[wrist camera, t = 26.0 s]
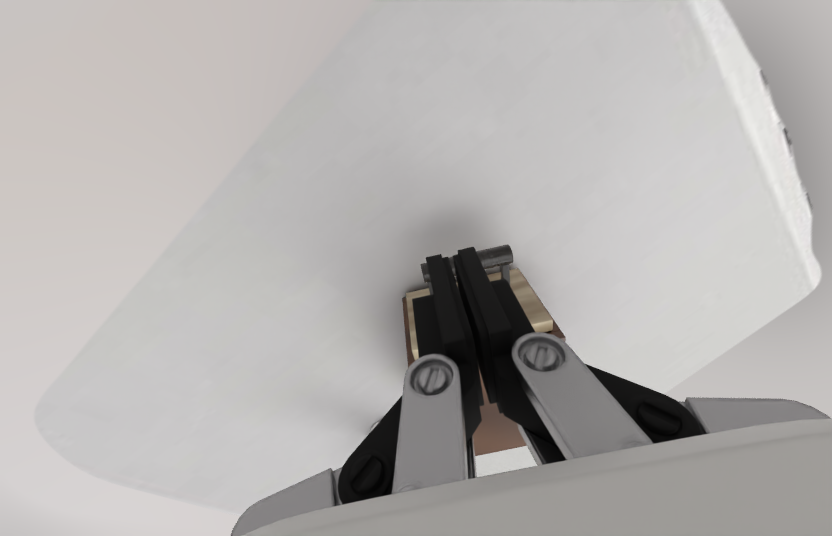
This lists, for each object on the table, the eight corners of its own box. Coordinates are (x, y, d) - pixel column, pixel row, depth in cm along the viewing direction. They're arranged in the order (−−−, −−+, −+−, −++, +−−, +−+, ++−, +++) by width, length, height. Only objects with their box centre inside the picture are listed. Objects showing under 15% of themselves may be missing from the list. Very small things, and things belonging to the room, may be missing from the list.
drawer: (391, 243, 29) (394, 294, 23) (515, 214, 29) (555, 258, 22) (430, 379, 40) (439, 442, 33) (522, 359, 39) (550, 419, 33)
